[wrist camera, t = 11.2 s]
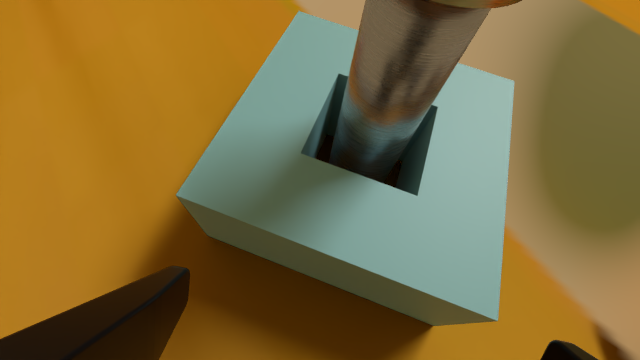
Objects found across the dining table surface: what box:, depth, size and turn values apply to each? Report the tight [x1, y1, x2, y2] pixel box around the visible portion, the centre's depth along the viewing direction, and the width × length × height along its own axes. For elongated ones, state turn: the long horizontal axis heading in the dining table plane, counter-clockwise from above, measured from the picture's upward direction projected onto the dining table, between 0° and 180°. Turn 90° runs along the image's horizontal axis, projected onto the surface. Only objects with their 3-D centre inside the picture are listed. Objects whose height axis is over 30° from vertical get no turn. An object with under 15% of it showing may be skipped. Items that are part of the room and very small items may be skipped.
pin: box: [328, 0, 522, 183], centre depth 12 cm, size 4×4×13 cm
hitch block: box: [176, 11, 514, 326], centre depth 16 cm, size 12×12×5 cm
